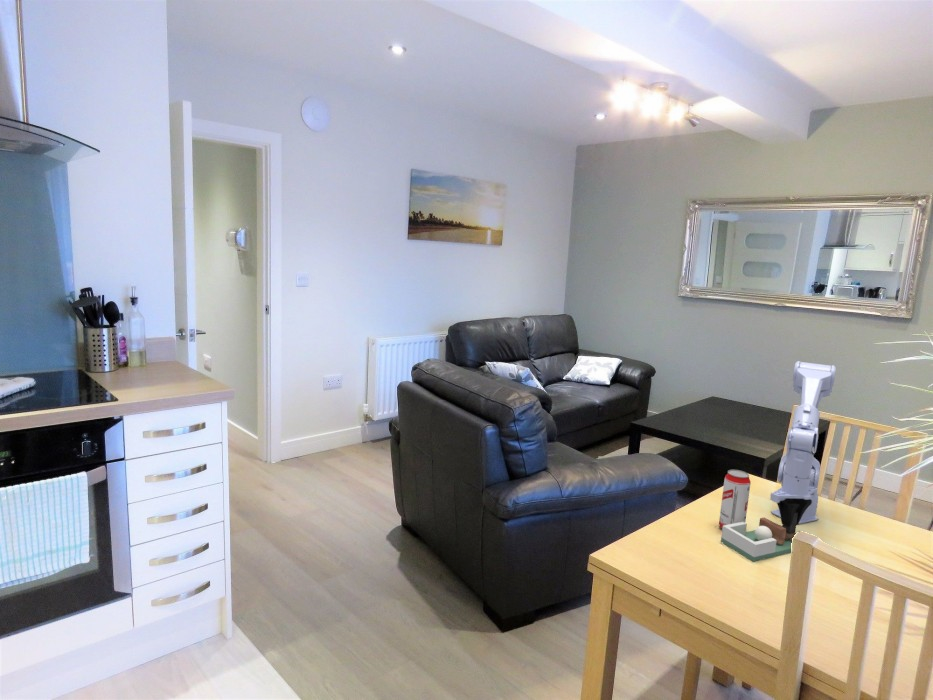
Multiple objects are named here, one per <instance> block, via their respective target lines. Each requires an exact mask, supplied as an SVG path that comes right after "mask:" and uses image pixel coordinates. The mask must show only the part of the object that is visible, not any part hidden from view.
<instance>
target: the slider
mask: <svg viewBox="0 0 933 700" xmlns="http://www.w3.org/2000/svg"><path fill="white" fill-rule="evenodd" d="M797 518H798V512H796V511H795V514H794V516H793V521H792V524H791V526H790V527H788V526H786V525H784V524H778V523H776V522H774V521H772V520H770V519H768V518H766V517H760V518H759V522H758V527H759V526H766V527H768V528H769V529H770V530H771V532H772V538H774V539H776V540H777V542H776V543H778V544H779V545H780V544H784V541H785V540H788V539H792V538H793V537H794V535H795V533H796V530H797V525H796V524H797ZM780 525H781V526H780Z"/></svg>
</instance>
